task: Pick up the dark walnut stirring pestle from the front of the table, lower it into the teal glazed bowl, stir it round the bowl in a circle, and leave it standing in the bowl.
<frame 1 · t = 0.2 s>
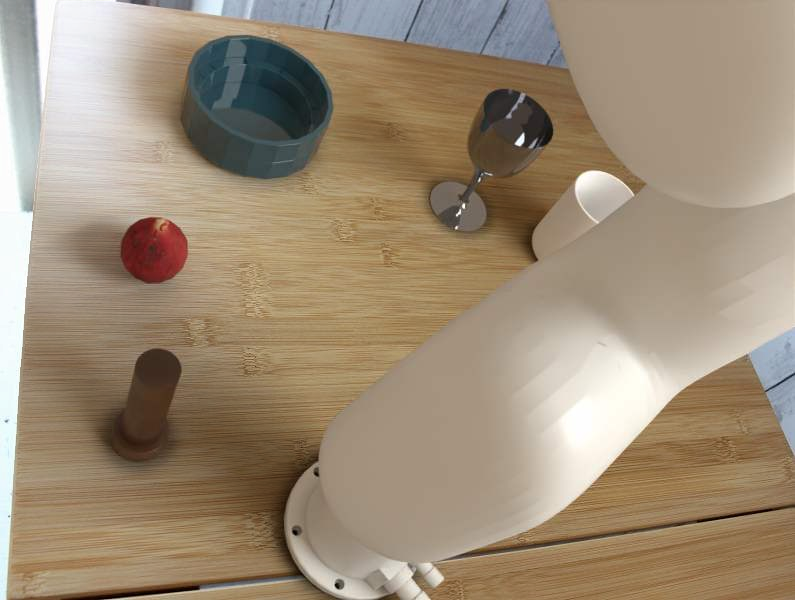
bowl: (250, 126, 91), on the table
cup: (572, 251, 99), on the table
red round fruit: (149, 273, 78), on the table
wine glass: (457, 207, 96), on the table
pestle: (138, 437, 69), on the table
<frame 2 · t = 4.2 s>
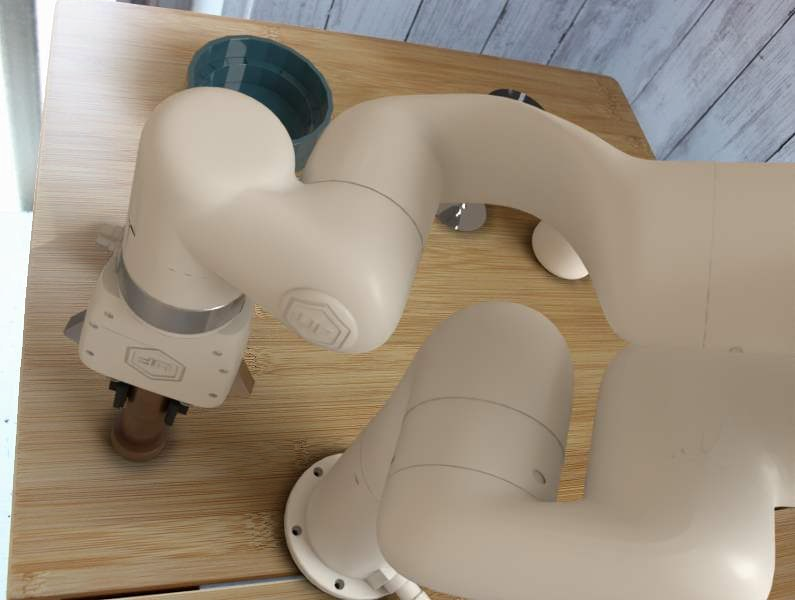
hand: (149, 399, 63), 8 cm above the table, tool pointing down, fingers closed on pestle, 3 cm apart
pestle: (138, 437, 69), on the table, touching gripper
everything else where it was.
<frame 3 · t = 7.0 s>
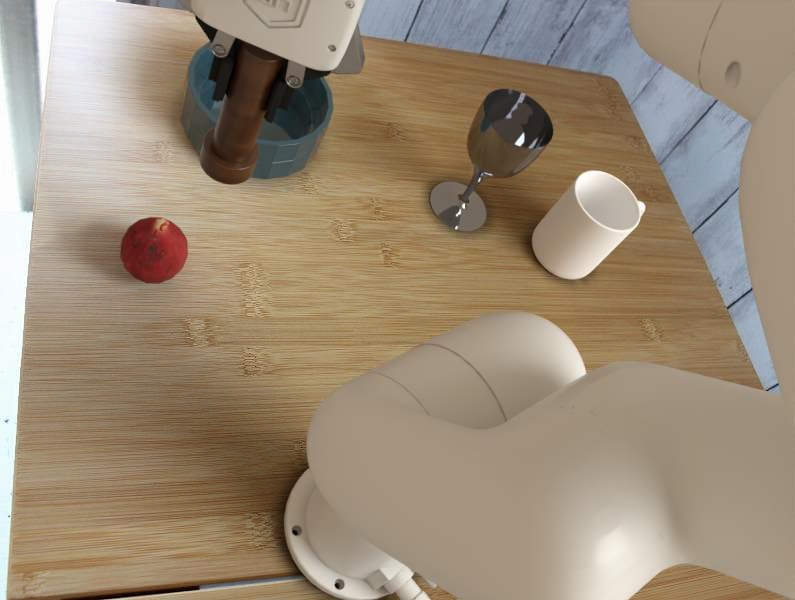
hand: (247, 97, 61), 24 cm above the table, tool pointing down, fingers closed on pestle, 3 cm apart
pestle: (226, 162, 67), point 16 cm above the table, touching gripper
everything else where it was.
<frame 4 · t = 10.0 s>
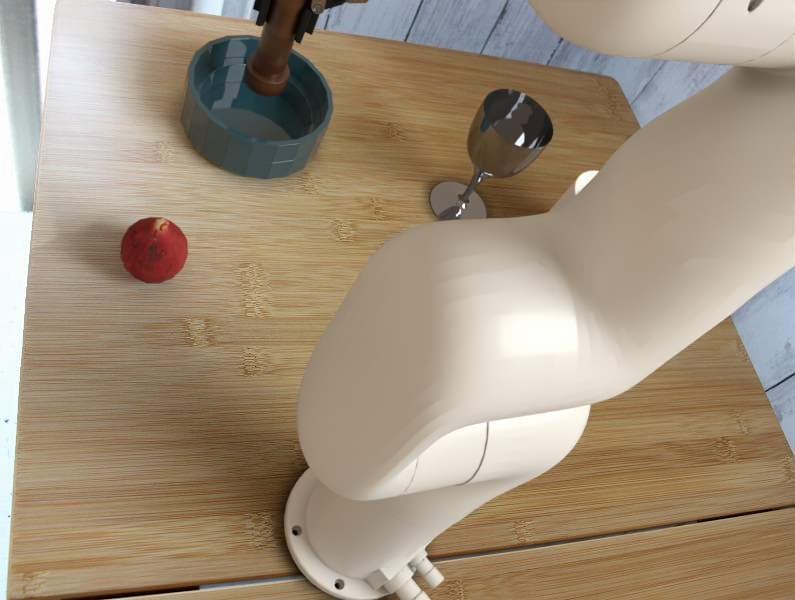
hand: (282, 24, 80), 14 cm above the table, tool pointing down, fingers closed on pestle, 3 cm apart
pestle: (264, 80, 86), point 7 cm above the table, touching gripper
everything else where it was.
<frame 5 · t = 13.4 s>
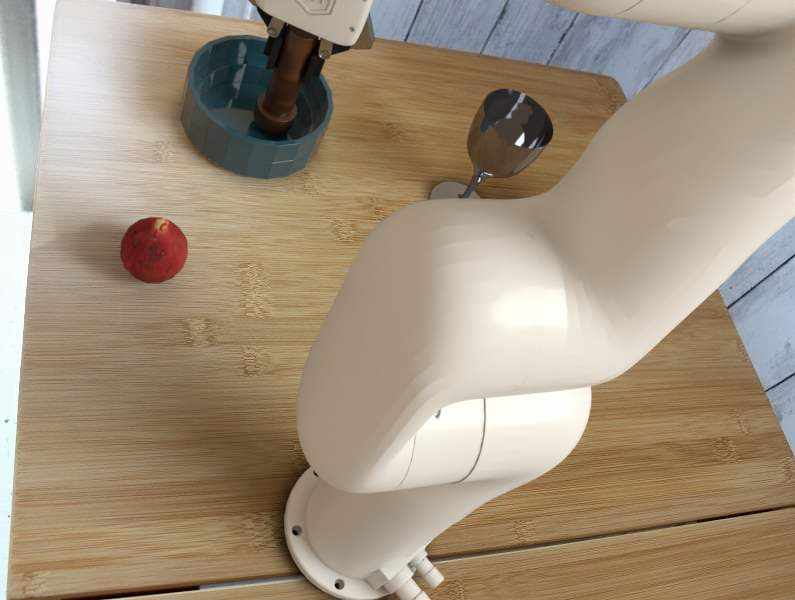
hand: (290, 67, 85), 9 cm above the table, tool pointing down, fingers closed on pestle, 3 cm apart
pestle: (273, 118, 91), point 2 cm above the table, touching gripper
everything else where it was.
when the fingers open (8 cm above the table, at t = 15.9 s): pestle stays where it is, resting on bowl.
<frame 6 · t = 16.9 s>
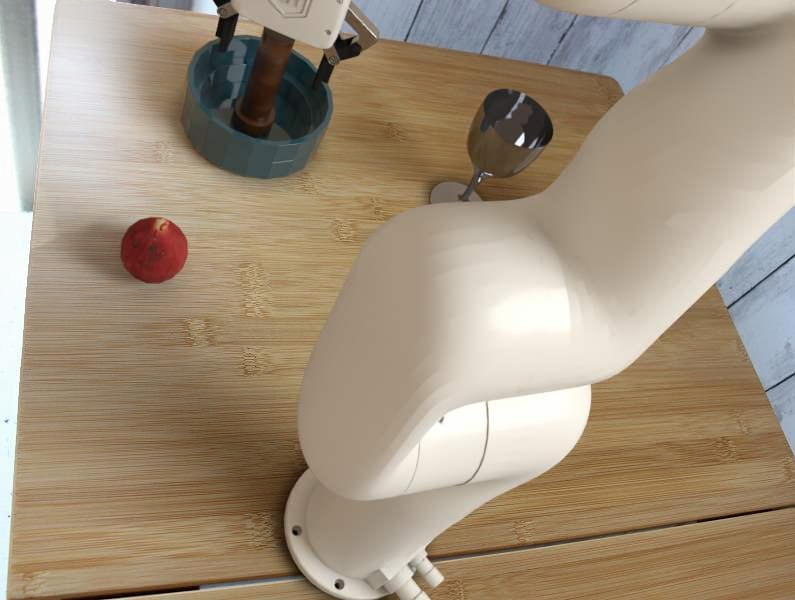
hand: (271, 63, 83), 10 cm above the table, tool pointing down, fingers open, 9 cm apart
pestle: (251, 122, 91), point 1 cm above the table, touching bowl
everything else where it was.
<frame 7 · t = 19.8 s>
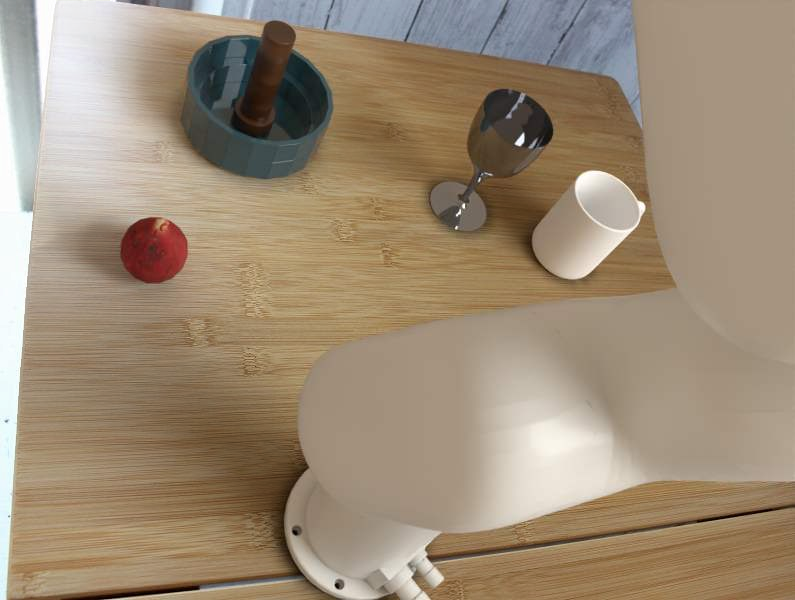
nothing on the table moved.
at the end: pestle inside the target area in the bowl (0.1 cm from its centre), point 0.6 cm above the bowl's base; pestle moved 37.9 cm from its start; the gripper is holding nothing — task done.
